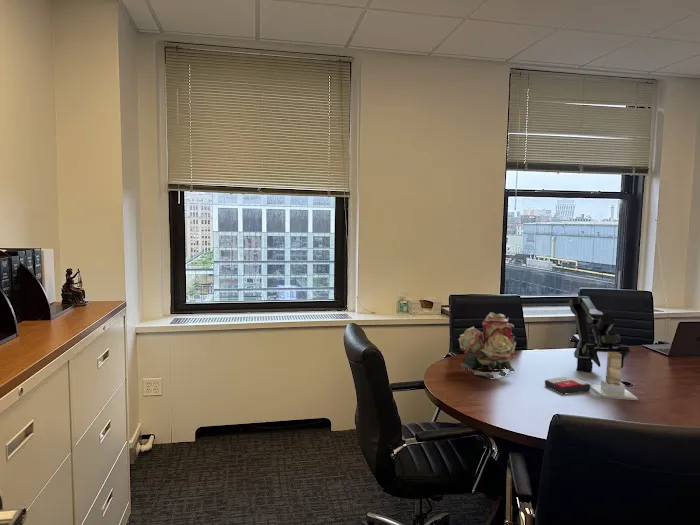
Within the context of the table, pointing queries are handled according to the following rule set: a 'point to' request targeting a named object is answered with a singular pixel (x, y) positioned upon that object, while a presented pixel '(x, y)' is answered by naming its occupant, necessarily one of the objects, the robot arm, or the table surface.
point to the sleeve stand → (612, 390)
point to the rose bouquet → (489, 345)
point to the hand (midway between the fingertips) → (610, 367)
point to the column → (613, 367)
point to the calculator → (567, 385)
